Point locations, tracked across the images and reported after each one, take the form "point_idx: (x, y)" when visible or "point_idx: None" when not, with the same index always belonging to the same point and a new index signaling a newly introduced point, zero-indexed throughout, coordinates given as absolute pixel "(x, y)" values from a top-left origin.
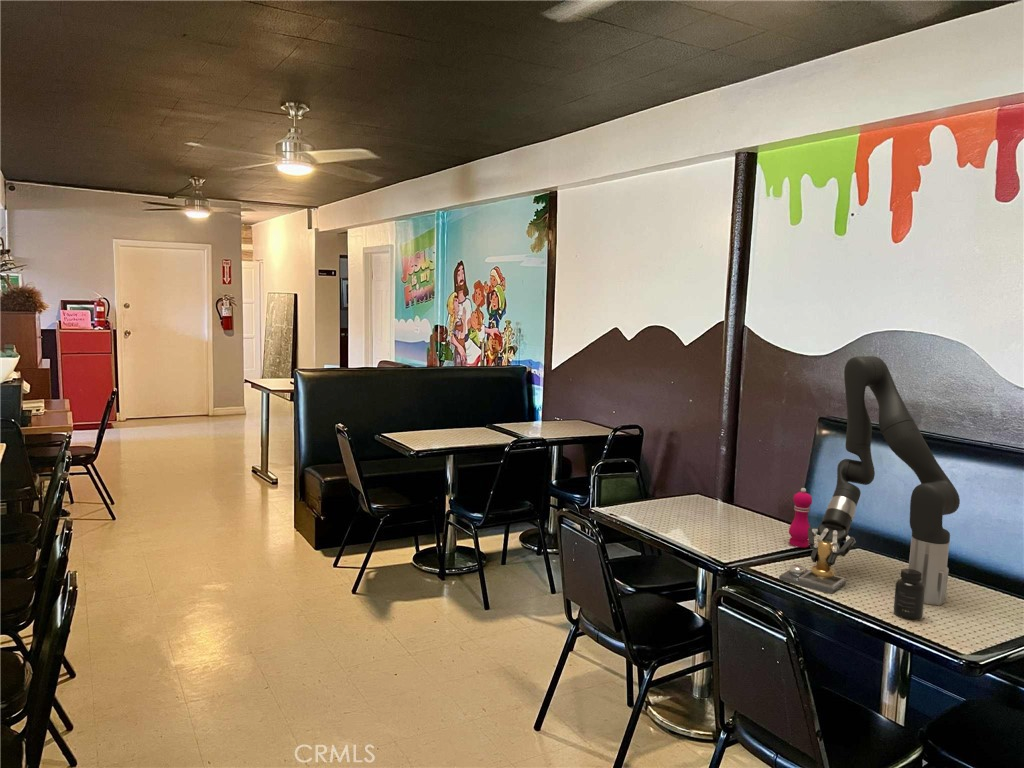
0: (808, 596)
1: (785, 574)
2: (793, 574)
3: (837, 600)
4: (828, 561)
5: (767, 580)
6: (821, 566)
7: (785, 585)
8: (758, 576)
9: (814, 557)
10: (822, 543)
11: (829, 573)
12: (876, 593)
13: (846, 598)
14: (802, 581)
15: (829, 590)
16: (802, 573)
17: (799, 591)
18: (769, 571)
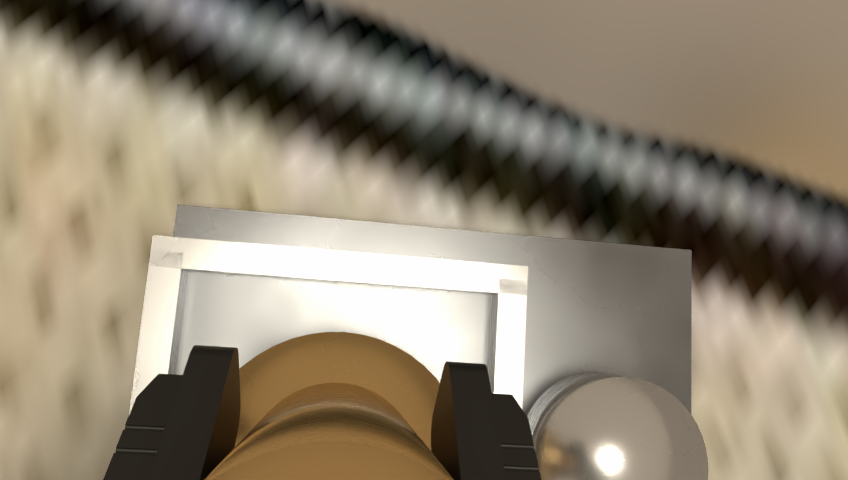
0: (339, 19)
1: (664, 331)
2: (606, 373)
3: (101, 96)
4: (214, 360)
5: (729, 161)
6: (333, 386)
7: (576, 149)
8: (820, 205)
9: (454, 376)
10: (355, 444)
11: None
12: None
13: (38, 210)
14: (475, 247)
15: (199, 209)
16: (538, 414)
17: (436, 86)
18: (816, 416)
